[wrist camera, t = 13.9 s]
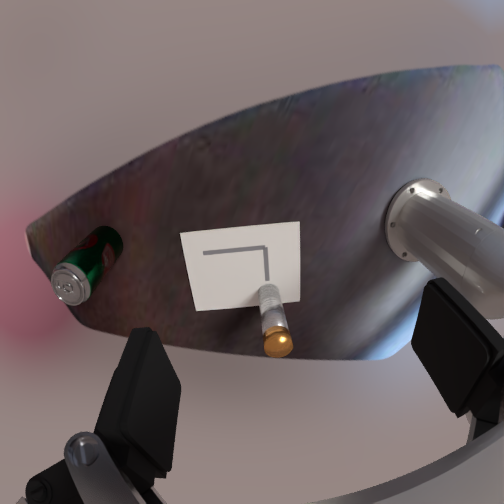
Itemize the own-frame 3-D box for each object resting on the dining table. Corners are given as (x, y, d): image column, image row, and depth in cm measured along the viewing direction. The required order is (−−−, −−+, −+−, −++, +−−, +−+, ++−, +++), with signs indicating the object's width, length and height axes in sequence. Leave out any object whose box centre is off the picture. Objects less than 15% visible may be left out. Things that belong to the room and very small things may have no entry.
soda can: (121, 263, 36) (86, 315, 26) (90, 251, 35) (48, 298, 25) (127, 231, 35) (88, 277, 24) (95, 219, 34) (48, 259, 23)
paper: (299, 221, 35) (299, 222, 35) (299, 300, 41) (299, 301, 40) (180, 233, 35) (180, 233, 35) (196, 310, 40) (196, 310, 40)
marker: (279, 282, 39) (293, 336, 29) (279, 300, 40) (292, 355, 30) (256, 284, 39) (263, 339, 29) (258, 302, 40) (265, 359, 30)
